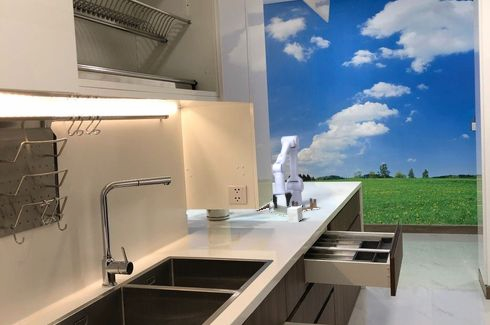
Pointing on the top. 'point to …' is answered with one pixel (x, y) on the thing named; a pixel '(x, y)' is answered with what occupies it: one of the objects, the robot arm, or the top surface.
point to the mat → (279, 213)
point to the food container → (264, 207)
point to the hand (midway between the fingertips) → (282, 207)
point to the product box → (294, 214)
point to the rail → (281, 209)
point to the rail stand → (312, 205)
